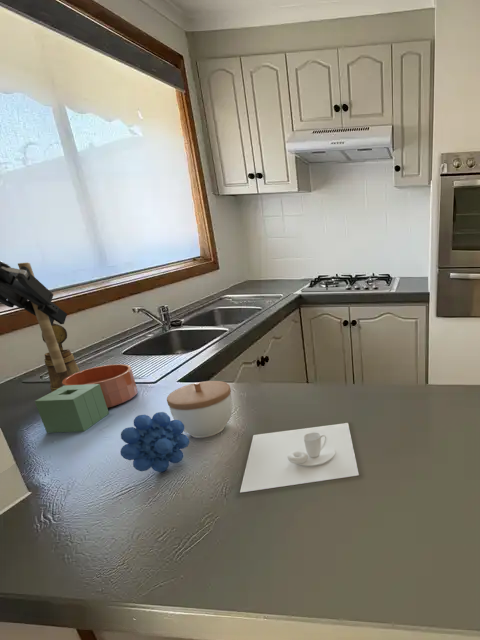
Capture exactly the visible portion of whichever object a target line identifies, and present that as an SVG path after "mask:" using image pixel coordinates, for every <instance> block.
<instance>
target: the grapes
mask: <svg viewBox="0 0 480 640" xmlns="http://www.w3.org/2000/svg"><path fill="white" fill-rule="evenodd" d="M120 439H121V440H122V441H123V443H125V444H124V445H123V446H122V447H121V448H120V456H121V457H122V458H123V459H124V460H127V461H133V462H132V466H133V468H134V469H135V470H136V471H139V472H147V471H148V470H150V469H152V470H153V471H154V472H157V473H163V472H166V471H167V470H168V469H169V467H170V463H171V464H179V463H180V462H182V461H183V459H184V456H185V455H184V452H183V451H182V450H183V449H184V450H185V449H186V448H187V447H188V446H189V444H190V438H189V437H188V436H187V435H186V434H184V424H183V423H182V422H181V421H179V420H174V419H173V420H171V417H170V416H169V414H167V413H166V412H164V411H159V412H156V413H154V414H153V416H152V417H150V416H149V415H148V414H138V415H137V416H136V417H134V419H133V426H130V427H125V428H124V429H122V431H121V432H120Z"/></svg>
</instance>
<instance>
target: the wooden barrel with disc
mask: <svg viewBox="0 0 480 640" xmlns="http://www.w3.org/2000/svg"><path fill="white" fill-rule="evenodd" d="M51 326H52V329H53V331H54V334H55V337H56V340H57V343H58V346H59V349H60V352H61V355H62V358H63V360H64V363H65V366H66V369H67V370H66V371H64V372H60V373H57V372H56V370H55V367H54V365H53V362H52V359H51V356H50V353H49V352H45V354H44V365H45V366H46V368H47V374H48V379H49V384H50V387H49V388H50V391H51V392H53V391H55V390H57V389H59V388H60V387H62V386H63V384H62V381H63V380H64V379H65V378H66V377H68V376H70V375H72V374H74V373H77V372H80V371H81V369H80V368H79V365H78V364H77V362H76V360H75V356H74V354H73V352H71V350H70V348H68V349H64V347H63V343H64V342H65V341H66V340H67V338H68V332H67V329H66V328H65V327H64V326H62V325H61V324H59V323H54V322H53V325H51ZM41 338H42V341H43V342H44V343H45V344H46V342H45V339H44V337H43V334H42V333H41Z"/></svg>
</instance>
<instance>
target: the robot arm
mask: <svg viewBox="0 0 480 640" xmlns="http://www.w3.org/2000/svg"><path fill="white" fill-rule="evenodd" d="M53 298H54V293H53V292H52V291H50V290H49V289H48V288H47V287H46V286H45V285H44V284H43V283H42V282H40V280H39V279H37V277H35V275H34V276H33V275H32V274H31V273H30V271H29V269H28V268H27V267H25V266H21V268H20V269H19V268H15V267H12V266H11V265H9V264H8V263H6V262H4V261H2V260H0V304H2V305H4V306H6V307H8V308H14V307H16V308H18V309H22V310H25V311H26V312H28V313H30V314H32V315H33V316H35V317H36V314H35V311H34V308H33V306H32V303H34V304H36V305H37V306H38V308H37V309H38V310H40V311H42V312H43V313H45V314H46V315H48V317H49V320H50V323H51V325H53V323H54V322H56V323H57V324H58V325H65V322H66V319H67V316H68V313H67V312H65V311H64V310H63V309H61V308H60V307H59V306H58V305H56V304H55V303H54V302H53ZM31 302H32V303H31Z"/></svg>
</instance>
